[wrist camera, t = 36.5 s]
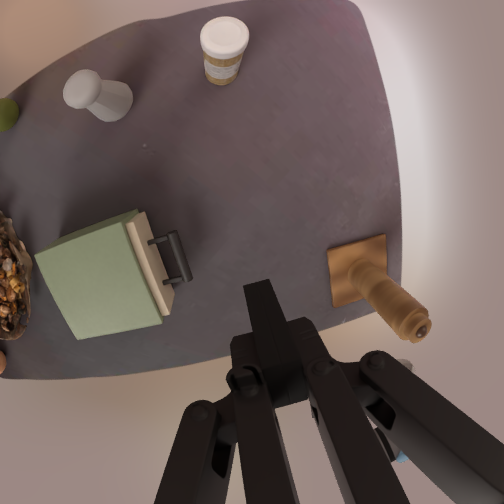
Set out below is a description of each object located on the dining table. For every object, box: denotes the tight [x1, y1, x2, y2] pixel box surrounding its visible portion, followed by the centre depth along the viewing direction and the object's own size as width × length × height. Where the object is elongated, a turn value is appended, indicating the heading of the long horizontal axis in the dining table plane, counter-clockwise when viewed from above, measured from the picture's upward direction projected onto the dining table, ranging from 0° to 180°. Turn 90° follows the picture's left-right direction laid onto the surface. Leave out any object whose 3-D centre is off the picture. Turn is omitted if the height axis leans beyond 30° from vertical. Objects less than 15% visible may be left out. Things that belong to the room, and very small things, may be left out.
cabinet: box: [34, 209, 164, 340], centre depth 35 cm, size 16×15×8 cm
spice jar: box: [200, 17, 249, 85], centre depth 25 cm, size 5×5×14 cm
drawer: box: [125, 211, 193, 316], centre depth 35 cm, size 19×13×6 cm
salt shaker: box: [63, 69, 133, 122], centre depth 24 cm, size 6×6×13 cm
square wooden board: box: [326, 234, 387, 308], centre depth 44 cm, size 11×11×1 cm
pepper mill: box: [348, 259, 431, 343], centre depth 35 cm, size 5×5×18 cm
